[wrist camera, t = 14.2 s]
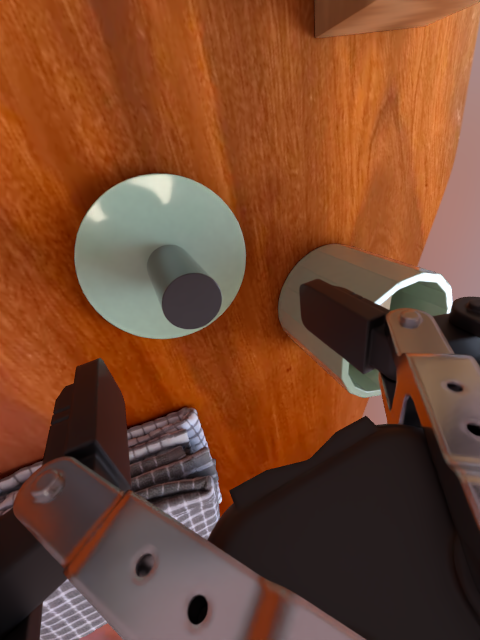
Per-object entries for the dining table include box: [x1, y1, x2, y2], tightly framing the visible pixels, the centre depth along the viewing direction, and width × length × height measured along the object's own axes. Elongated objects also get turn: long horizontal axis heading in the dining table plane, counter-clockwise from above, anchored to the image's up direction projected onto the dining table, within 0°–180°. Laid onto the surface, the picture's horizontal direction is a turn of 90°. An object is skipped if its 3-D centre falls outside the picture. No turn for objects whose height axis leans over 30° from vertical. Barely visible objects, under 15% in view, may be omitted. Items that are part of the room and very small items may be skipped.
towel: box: [0, 407, 222, 640], centre depth 24 cm, size 15×18×8 cm
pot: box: [278, 244, 453, 398], centre depth 23 cm, size 10×10×8 cm
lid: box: [74, 173, 246, 339], centre depth 16 cm, size 11×11×7 cm
